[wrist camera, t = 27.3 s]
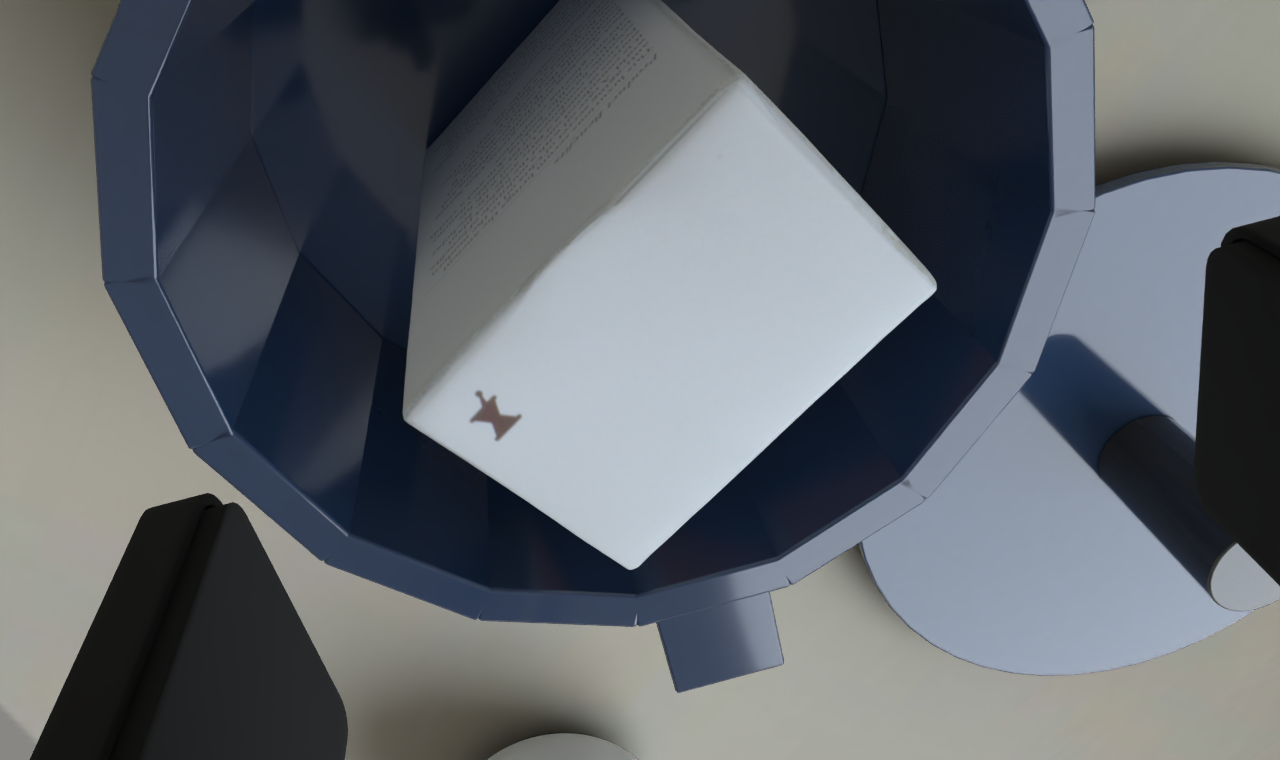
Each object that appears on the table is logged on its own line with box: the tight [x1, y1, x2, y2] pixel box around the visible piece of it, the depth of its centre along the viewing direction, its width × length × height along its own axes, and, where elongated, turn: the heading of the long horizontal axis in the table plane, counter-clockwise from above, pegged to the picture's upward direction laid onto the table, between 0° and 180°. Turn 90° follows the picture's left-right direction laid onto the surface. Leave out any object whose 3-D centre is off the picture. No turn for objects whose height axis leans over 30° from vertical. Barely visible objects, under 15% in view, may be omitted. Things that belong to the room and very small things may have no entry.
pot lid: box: [858, 162, 1280, 676], centre depth 28 cm, size 17×17×6 cm
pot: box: [91, 0, 1095, 693], centre depth 21 cm, size 16×21×8 cm
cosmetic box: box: [403, 0, 937, 570], centre depth 19 cm, size 6×4×12 cm
